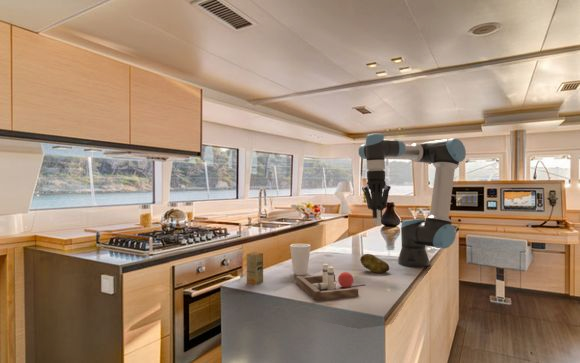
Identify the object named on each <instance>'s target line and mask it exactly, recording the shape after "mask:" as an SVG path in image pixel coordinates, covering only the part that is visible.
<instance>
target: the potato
mask: <svg viewBox="0 0 580 363" xmlns="http://www.w3.org/2000/svg"><path fill="white" fill-rule="evenodd" d="M359 260H360V264H362V266H363V268H365V269H367V270H369V272H373V273H376V274H383V273H387V272H388V271H389V270H390V265H389V263H387V262H386V261H384V260H382V259H380V258H379V257H377V256H375V255H374V254H372V253H365V254H363V255H362V256H361V257H360V258H359Z"/></svg>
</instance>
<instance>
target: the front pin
mask: <svg viewBox="0 0 580 363" xmlns="http://www.w3.org/2000/svg"><path fill="white" fill-rule="evenodd" d="M312 285H313V286H314V287H316V288H317V289H318V290H320V291H322V290H328V282H327V283H323V282H317V283H312ZM334 289H337V283H336V282H335V281H334Z"/></svg>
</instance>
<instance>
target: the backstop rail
mask: <svg viewBox="0 0 580 363" xmlns="http://www.w3.org/2000/svg"><path fill="white" fill-rule="evenodd" d="M295 280H296V281H295V283H296V285H297V286H298V287H300V288H301V289H302V290H303V291H304V292H305V291H306V294H308V295H309V296H310V297H311V298H312V297H313V298H314V299H313V298H312V299H313V300H315V301H321V300H323V301H324V300H331V299H332V300H333V299H339V298H340V299H341V298H348V297H357V296H359V288H358V287H347V288H340V289H339V288H338V289H334V290H328V289H327V290H318V289H317V288H316V287H314V286H313V284H315V283H323V274H320V275H318V274H317V275H308V276H303V275H296V276H295ZM335 281H336V274H334V282H335Z"/></svg>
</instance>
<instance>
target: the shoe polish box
mask: <svg viewBox="0 0 580 363" xmlns="http://www.w3.org/2000/svg"><path fill="white" fill-rule="evenodd" d="M246 283H247V284H251V285H259V284H260V283H264V253H261V252H255V251H254V252H250V253H247V254H246Z"/></svg>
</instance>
